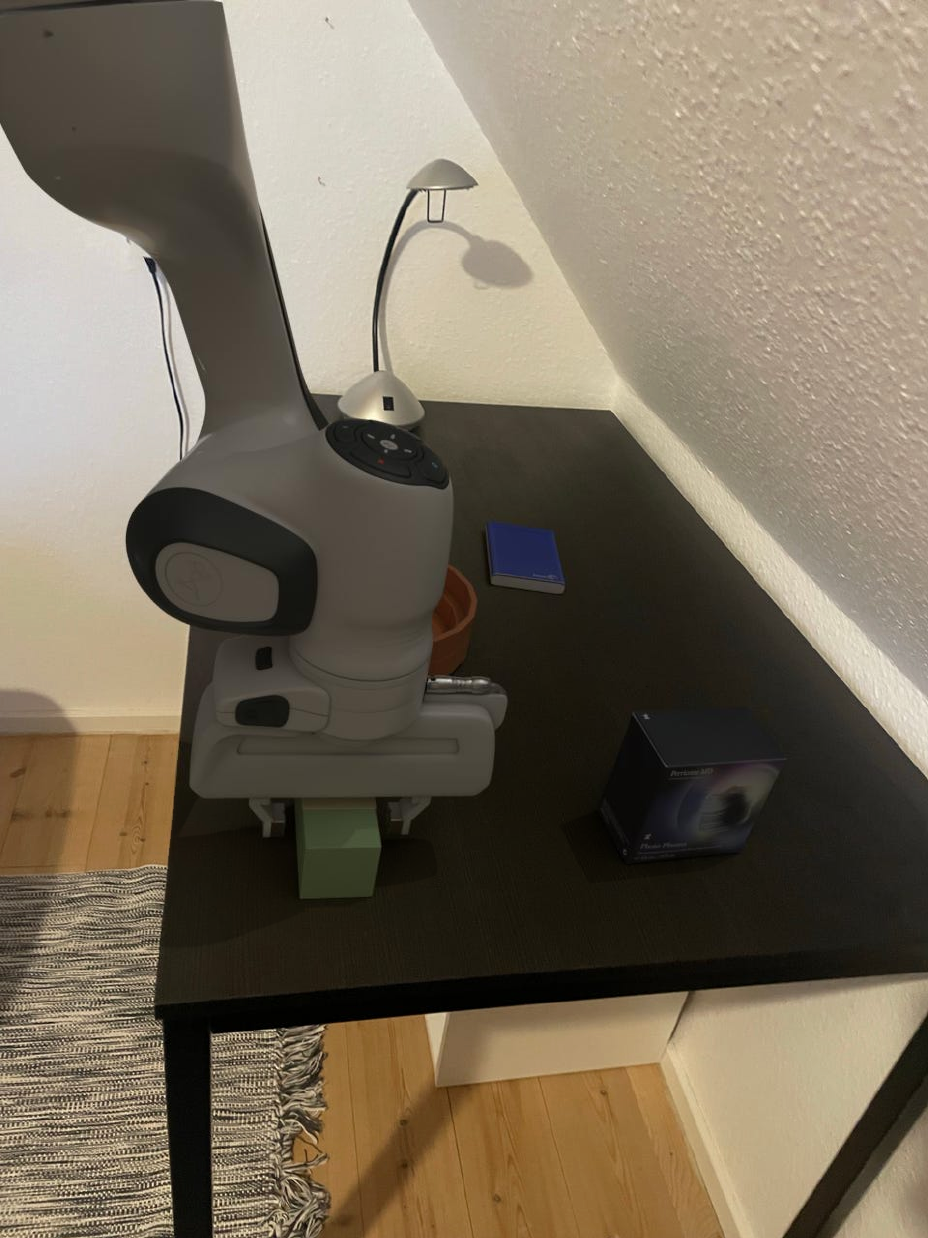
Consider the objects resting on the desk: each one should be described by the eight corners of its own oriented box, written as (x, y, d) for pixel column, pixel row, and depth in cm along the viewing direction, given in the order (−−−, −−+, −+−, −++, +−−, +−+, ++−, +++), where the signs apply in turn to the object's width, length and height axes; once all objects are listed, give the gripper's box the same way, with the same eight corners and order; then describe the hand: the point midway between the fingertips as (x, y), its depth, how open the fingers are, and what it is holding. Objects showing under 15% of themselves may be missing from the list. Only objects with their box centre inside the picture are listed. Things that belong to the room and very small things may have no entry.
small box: (626, 870, 72) (665, 767, 66) (593, 808, 77) (627, 708, 71) (744, 856, 75) (792, 758, 69) (705, 798, 80) (746, 702, 74)
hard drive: (566, 582, 104) (553, 530, 114) (492, 572, 103) (487, 520, 113) (562, 594, 104) (550, 541, 115) (490, 584, 103) (484, 531, 114)
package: (298, 899, 64) (304, 847, 61) (293, 804, 71) (298, 753, 69) (373, 897, 65) (382, 846, 63) (360, 803, 73) (368, 754, 70)
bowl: (281, 692, 82) (285, 641, 79) (276, 581, 97) (279, 534, 94) (483, 697, 86) (494, 648, 83) (449, 589, 101) (457, 545, 98)
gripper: (502, 650, 65) (468, 796, 72) (194, 641, 60) (190, 799, 67) (524, 709, 60) (484, 859, 67) (189, 704, 55) (186, 867, 62)
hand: (335, 829), depth 67 cm, fingers open, 7 cm apart
